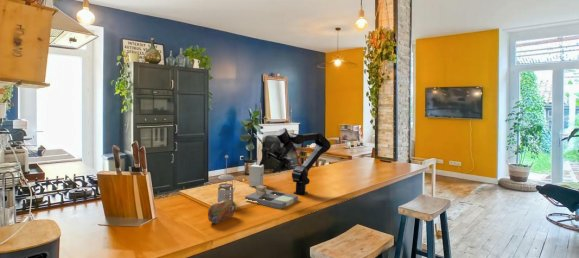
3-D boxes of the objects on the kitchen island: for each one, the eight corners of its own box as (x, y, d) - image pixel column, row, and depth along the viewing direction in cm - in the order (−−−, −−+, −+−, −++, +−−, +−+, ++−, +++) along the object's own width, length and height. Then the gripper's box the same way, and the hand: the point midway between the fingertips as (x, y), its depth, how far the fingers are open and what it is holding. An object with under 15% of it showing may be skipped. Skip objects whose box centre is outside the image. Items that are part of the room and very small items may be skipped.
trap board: (263, 193, 188) (264, 188, 188) (297, 200, 178) (298, 195, 178) (245, 200, 173) (245, 196, 173) (281, 209, 162) (281, 204, 162)
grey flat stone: (211, 226, 137) (212, 206, 137) (206, 224, 139) (206, 205, 138) (235, 216, 150) (236, 198, 149) (230, 214, 152) (231, 197, 151)
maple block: (260, 192, 181) (260, 185, 181) (266, 193, 179) (266, 186, 179) (255, 193, 178) (256, 186, 177) (262, 195, 176) (262, 187, 175)
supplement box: (260, 187, 200) (260, 167, 199) (248, 186, 201) (249, 166, 200) (263, 184, 207) (264, 164, 206) (252, 183, 209) (253, 163, 208)
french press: (211, 204, 164) (212, 155, 162) (226, 198, 175) (227, 152, 172) (226, 208, 160) (228, 157, 158) (241, 202, 170) (242, 154, 168)
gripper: (269, 133, 179) (249, 151, 171) (295, 146, 169) (276, 166, 161) (272, 147, 187) (254, 165, 179) (298, 160, 177) (280, 180, 169)
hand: (265, 168), depth 172 cm, fingers open, 9 cm apart
